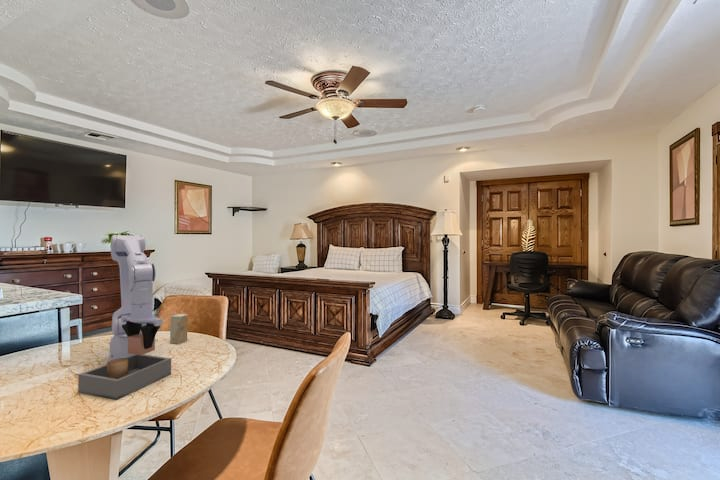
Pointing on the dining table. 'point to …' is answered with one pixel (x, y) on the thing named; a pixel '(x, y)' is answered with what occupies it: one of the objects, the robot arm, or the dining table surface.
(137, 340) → the cube
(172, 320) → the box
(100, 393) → the tote
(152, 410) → the dining table surface
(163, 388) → the dining table surface
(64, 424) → the dining table surface
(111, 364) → the walnut cylinder
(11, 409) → the dining table surface
